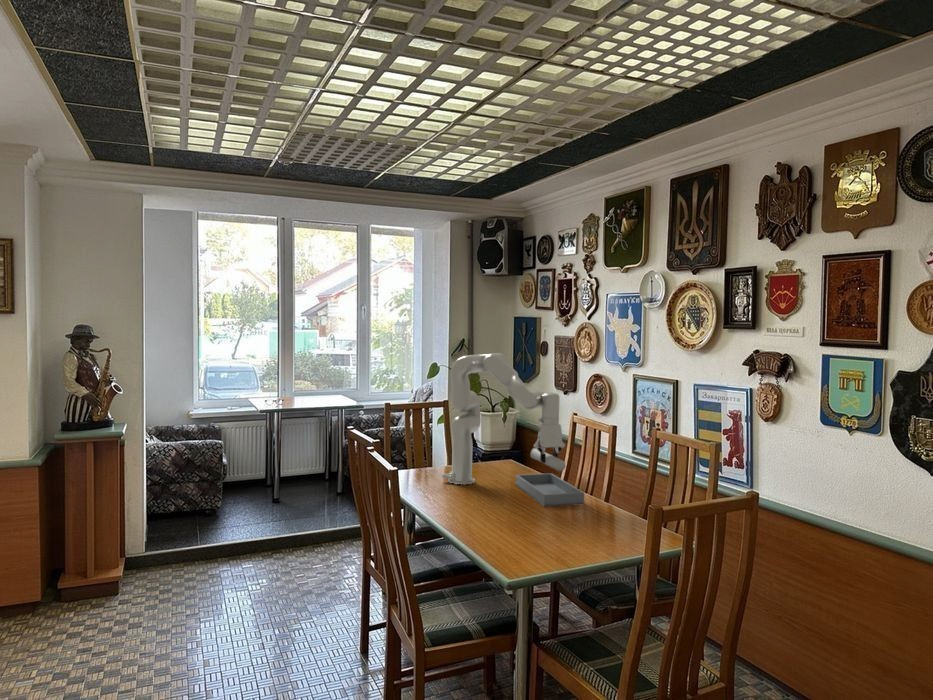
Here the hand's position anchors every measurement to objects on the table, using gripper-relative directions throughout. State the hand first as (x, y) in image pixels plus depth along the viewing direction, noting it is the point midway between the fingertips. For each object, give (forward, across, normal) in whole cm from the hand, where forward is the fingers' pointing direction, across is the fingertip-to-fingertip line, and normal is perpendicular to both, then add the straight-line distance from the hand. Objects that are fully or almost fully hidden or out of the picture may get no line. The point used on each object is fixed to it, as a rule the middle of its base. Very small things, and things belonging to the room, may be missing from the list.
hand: (548, 461), depth 274 cm
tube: (+2, 0, 0) cm, 2 cm away
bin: (+15, 0, 0) cm, 15 cm away
